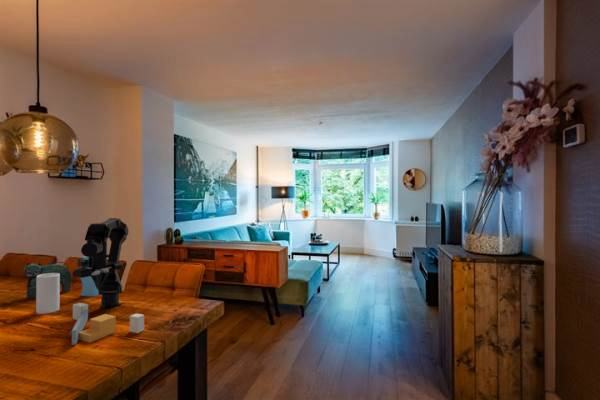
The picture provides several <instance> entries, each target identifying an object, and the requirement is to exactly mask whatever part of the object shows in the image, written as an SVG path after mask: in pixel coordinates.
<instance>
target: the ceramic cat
mask: <svg viewBox="0 0 600 400" xmlns="http://www.w3.org/2000/svg"><path fill="white" fill-rule="evenodd" d="M43 258H45V259H47V260H49V258H48V257H46V256H42V257H40V258H39V261H38V263H30V262H27V263H26V265H25V266H24V268H23V274H24V276H25V277H27V278H28V279H27V284H26V297H27V299H28V300H31V299H35V298H36V278H37V276H38V275H41V274H47V273H59V274H60V286H61V292H62V293H69V292H70V291H71V285H72V274H71V272H70V270H69V265H68V264H67V263H66V262H64V261H63V262H62V261H55V262H51V263H49V264H46V265H45V264H42V263H41V259H43ZM63 264H64V265H63Z"/></svg>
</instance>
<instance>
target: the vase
mask: <svg viewBox="0 0 600 400" xmlns="http://www.w3.org/2000/svg"><path fill="white" fill-rule="evenodd" d="M82 259H84V260H88V257H86V256H84V255H83V256H82ZM88 269H91V268H88ZM80 280H81V283H82V284H81V285H82V287H81V288H82V290H81V293H80V297H81V296H83V297H97V296H100V295H99V292H98V289H97V288H96V286H95V283H94V281H93V279H92V278H91V277H90V276H88V277H84V278H80Z"/></svg>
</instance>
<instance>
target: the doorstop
mask: <svg viewBox="0 0 600 400" xmlns="http://www.w3.org/2000/svg"><path fill="white" fill-rule="evenodd" d="M116 319H117V316H116V315H112V314H107V313H104V314H101V315H97V316H96V317H92V318H89V328H88V329H83V330H82V332H79V339H78V340H80V341H83V342H86V343H89V344H90V343H92V342H95V341H97V340H99V339H102V338H105V337H107V336H110V335H112V334H114V333H116V332H117V331H116V329H117V323H116V322H117V320H116Z"/></svg>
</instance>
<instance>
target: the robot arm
mask: <svg viewBox="0 0 600 400" xmlns="http://www.w3.org/2000/svg"><path fill="white" fill-rule="evenodd" d="M128 235H129V227H128V225H127V224H126V223H125V222H123V221H122V219H121V218H119V217H113V218H112V217H110V218H108V219H107V220H105V221H102V222H100V223H98V222H95V223H90V225H89V226H88V227H87V231H86V234H85V236H84V241H86V242H85V243H84V244H83V245H82V247H81V249H80V252H81V253H82V255H83V257H84V256H86V257H88V260H84V259H83V258H80V259H77V262H76V265H77V267H78V268H75V269H74V270H73V272H72V278H73V277H74V278H79V279H81V278H84V277H88V276H90V277H91V278H92V279H93V281H94V283H95V286H96V288H97V289H98V292H99V295H98V296H100V295H101V301H100V303H101V304H100V305H99V308H101V309H102V308H103V309H108V310H109V309H113V308H115V307H116V308H117V307H118V306H121V305H122V303H120V301H119V300H120V299H119V297H120V294H122V293H123V285H122V283H121V281H120V279H121V278H120V276H119V274H118V271H119V270H122V269H123V263H122V261H121V262H120V256H121V251H122V245H123V243H125V241H126V240H127V237H128ZM108 239H109V241H110V246H109V251H108ZM88 268H91V269H88Z"/></svg>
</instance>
